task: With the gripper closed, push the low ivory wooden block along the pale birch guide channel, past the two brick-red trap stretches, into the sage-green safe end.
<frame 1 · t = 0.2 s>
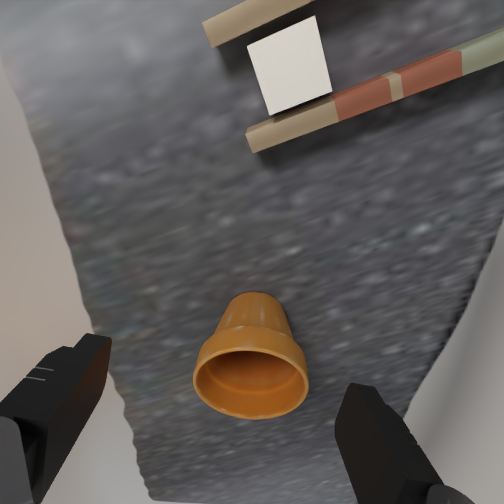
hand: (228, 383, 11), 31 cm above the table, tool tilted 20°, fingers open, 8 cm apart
ivory block: (289, 65, 33), resting in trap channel
flower pot: (256, 311, 51), on the table
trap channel: (373, 29, 30), on the table
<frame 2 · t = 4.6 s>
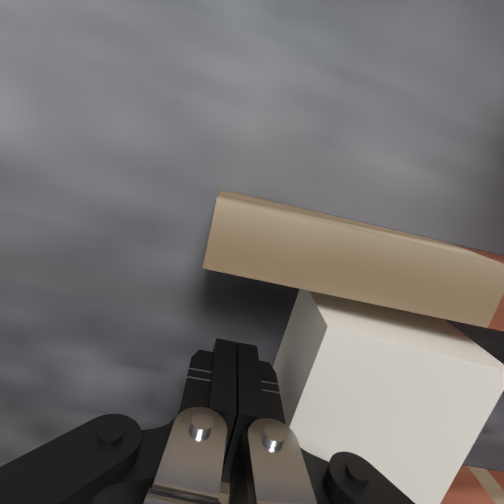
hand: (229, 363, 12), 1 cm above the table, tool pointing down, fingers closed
ivory block: (345, 358, 14), resting in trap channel, touching gripper
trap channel: (502, 395, 15), on the table
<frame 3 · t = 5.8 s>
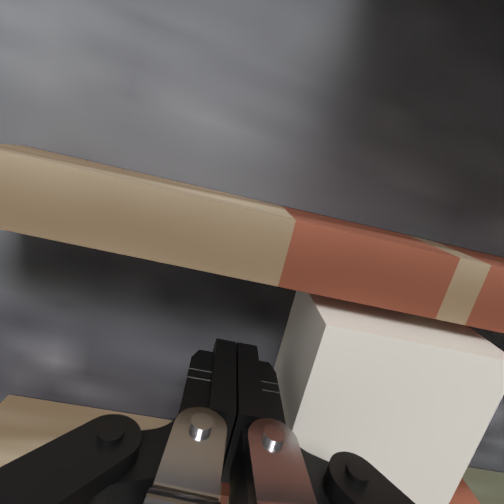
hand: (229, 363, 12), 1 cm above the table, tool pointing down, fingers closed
ivory block: (348, 355, 14), resting in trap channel, touching gripper
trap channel: (359, 370, 14), on the table
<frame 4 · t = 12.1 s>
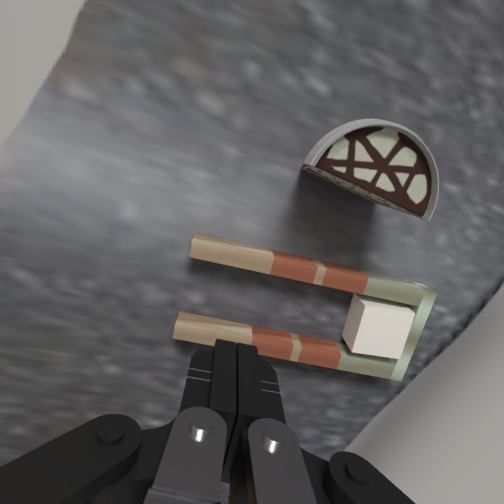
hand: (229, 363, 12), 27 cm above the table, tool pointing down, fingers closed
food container: (350, 159, 37), on the table
ivory block: (369, 317, 42), resting in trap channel
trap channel: (298, 304, 41), on the table
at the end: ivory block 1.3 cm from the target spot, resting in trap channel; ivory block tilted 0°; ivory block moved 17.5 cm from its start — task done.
